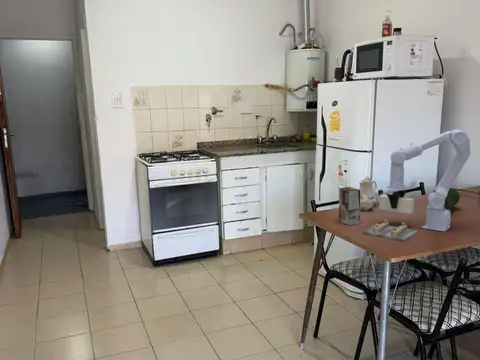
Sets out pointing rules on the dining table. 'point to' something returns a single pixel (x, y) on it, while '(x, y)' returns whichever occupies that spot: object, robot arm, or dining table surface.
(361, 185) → the chinaware
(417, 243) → the dining table surface
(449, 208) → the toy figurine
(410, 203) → the clay bar
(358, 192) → the coffee box
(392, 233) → the grey peg board
